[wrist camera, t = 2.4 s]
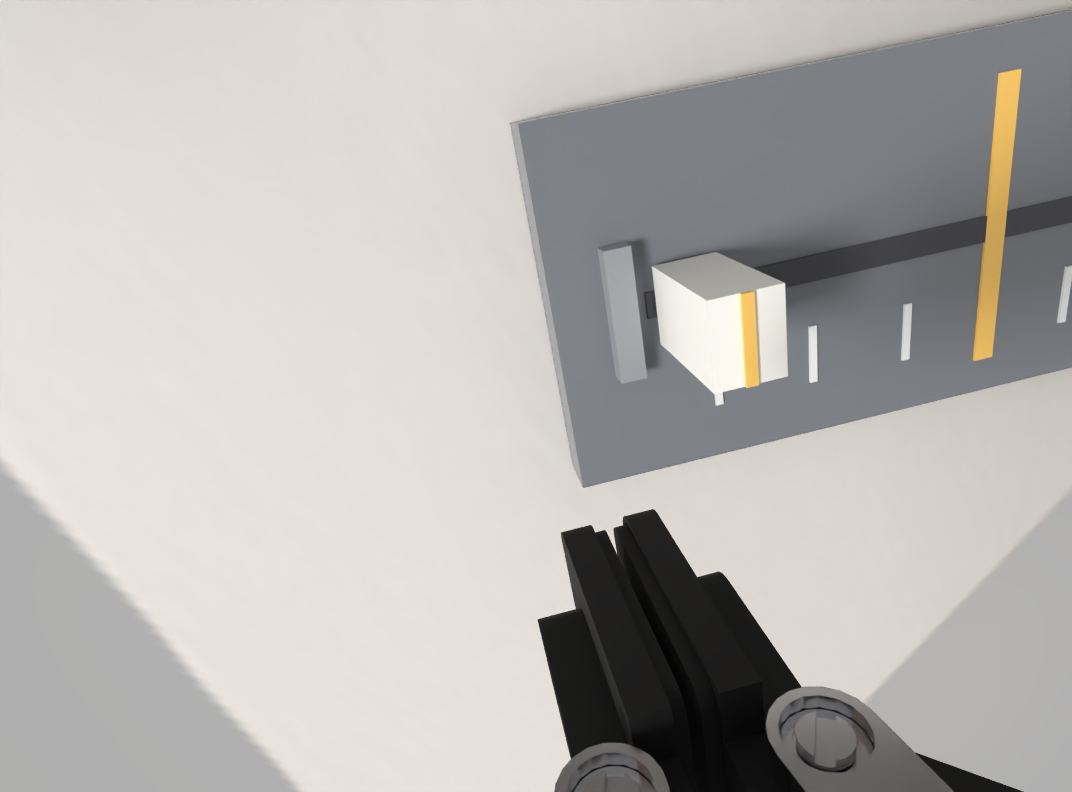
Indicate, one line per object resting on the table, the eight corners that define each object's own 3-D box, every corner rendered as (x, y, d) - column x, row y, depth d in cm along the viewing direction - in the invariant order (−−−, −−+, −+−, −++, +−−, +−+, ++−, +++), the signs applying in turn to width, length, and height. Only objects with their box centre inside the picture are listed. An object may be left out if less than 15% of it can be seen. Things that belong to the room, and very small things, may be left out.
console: (510, 123, 24) (521, 123, 21) (1268, -31, 26) (1362, -47, 23) (572, 464, 29) (587, 498, 27) (1191, 314, 31) (1259, 331, 29)
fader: (651, 266, 24) (708, 302, 19) (715, 251, 24) (786, 283, 19) (660, 344, 25) (715, 395, 20) (721, 330, 25) (790, 377, 21)
